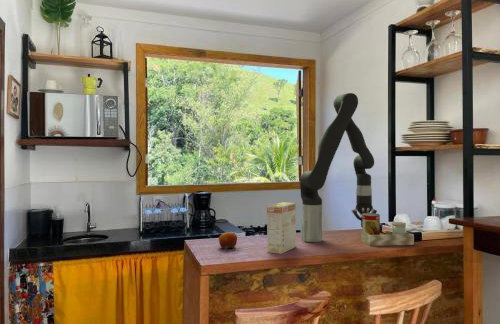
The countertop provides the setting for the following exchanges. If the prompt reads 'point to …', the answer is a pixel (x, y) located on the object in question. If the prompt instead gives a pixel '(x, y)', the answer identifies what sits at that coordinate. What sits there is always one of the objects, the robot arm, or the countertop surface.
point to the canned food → (371, 223)
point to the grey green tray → (388, 239)
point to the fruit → (228, 240)
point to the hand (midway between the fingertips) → (364, 228)
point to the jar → (399, 228)
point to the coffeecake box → (281, 227)
